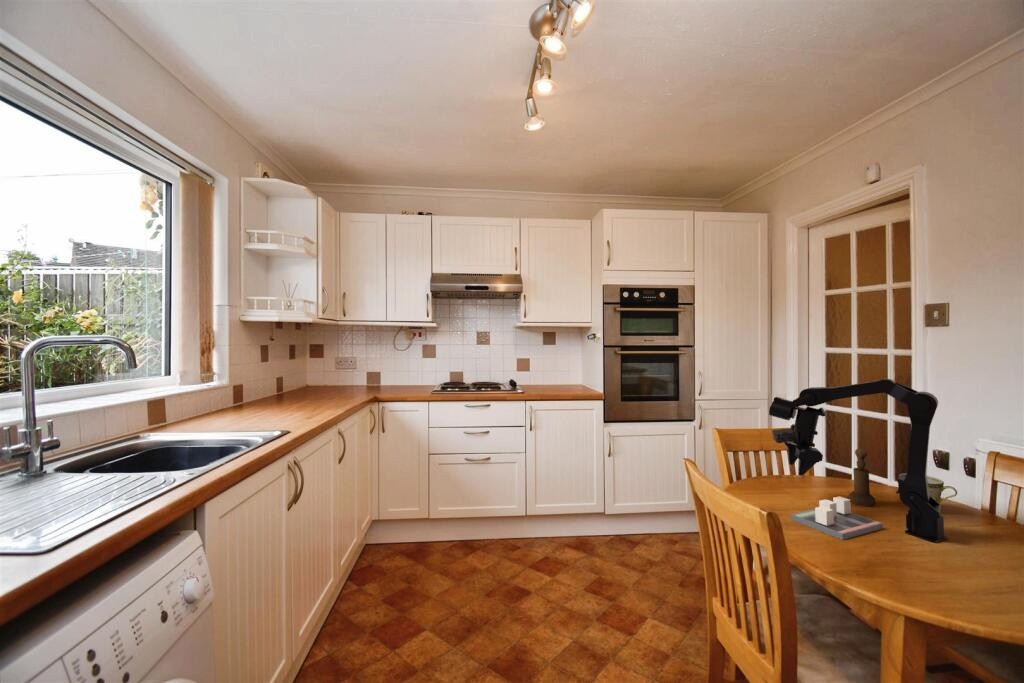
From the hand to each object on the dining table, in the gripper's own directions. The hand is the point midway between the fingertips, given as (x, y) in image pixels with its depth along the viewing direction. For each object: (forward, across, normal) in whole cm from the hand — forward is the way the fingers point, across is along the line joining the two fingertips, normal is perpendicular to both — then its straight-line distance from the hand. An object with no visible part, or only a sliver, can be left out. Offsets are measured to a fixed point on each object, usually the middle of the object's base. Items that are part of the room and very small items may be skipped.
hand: (795, 469), depth 133 cm
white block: (+7, +8, +11) cm, 16 cm away
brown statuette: (+9, -7, +23) cm, 26 cm away
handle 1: (+8, +13, +6) cm, 16 cm away
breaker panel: (+9, +14, +8) cm, 19 cm away
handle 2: (+8, +19, +3) cm, 21 cm away
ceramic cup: (+6, -5, +39) cm, 40 cm away
